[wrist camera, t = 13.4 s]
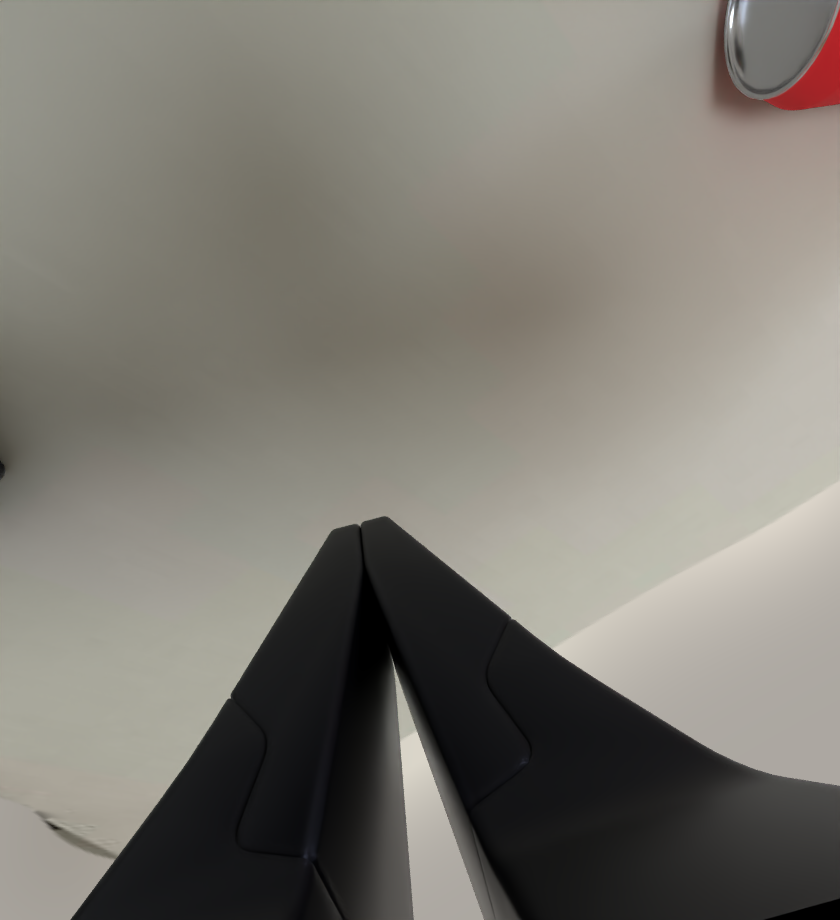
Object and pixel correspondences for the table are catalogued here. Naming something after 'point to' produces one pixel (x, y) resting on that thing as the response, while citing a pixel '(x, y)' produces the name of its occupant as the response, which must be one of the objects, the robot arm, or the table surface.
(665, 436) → the table surface
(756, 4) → the beverage can
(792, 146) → the table surface
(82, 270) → the table surface
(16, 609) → the table surface
